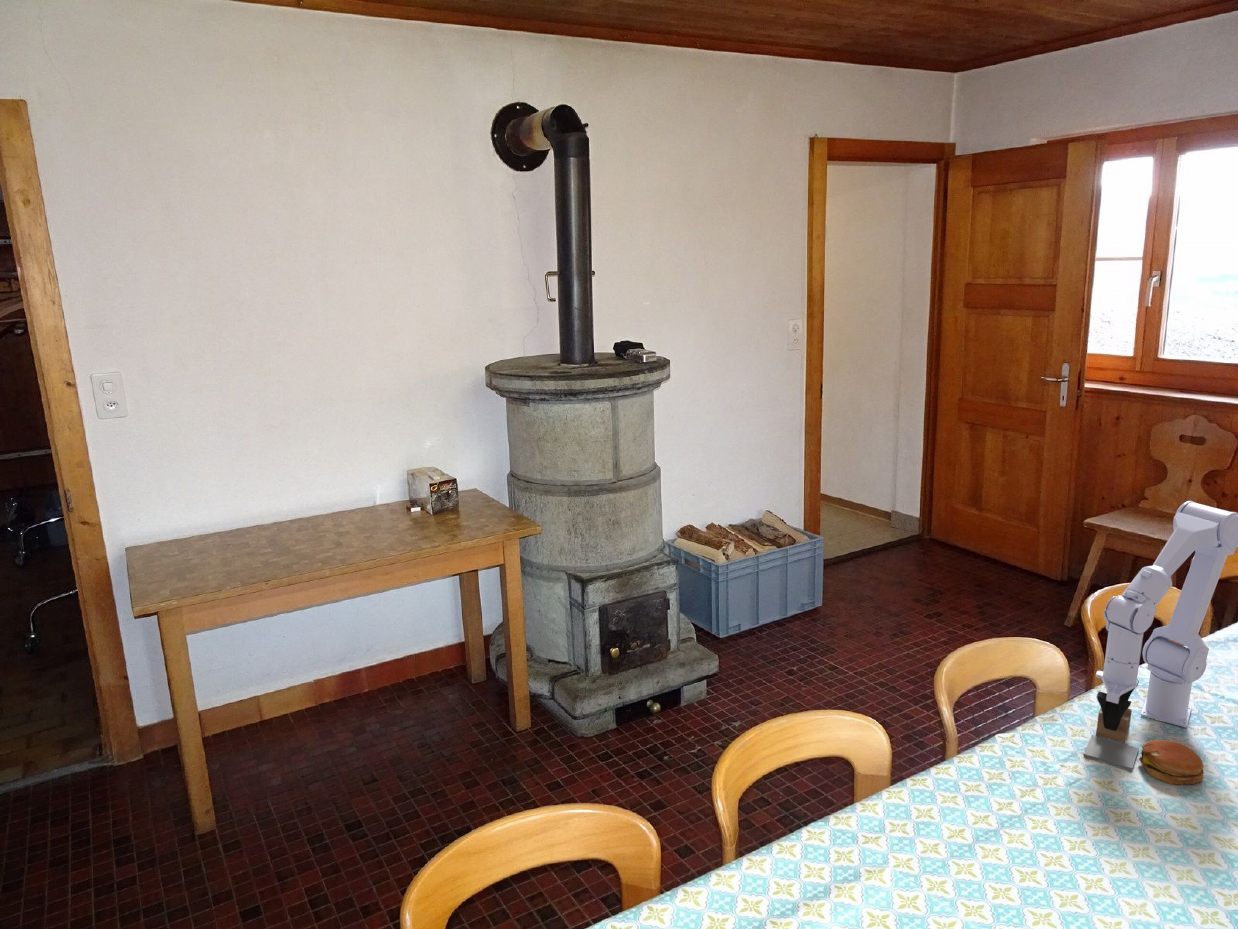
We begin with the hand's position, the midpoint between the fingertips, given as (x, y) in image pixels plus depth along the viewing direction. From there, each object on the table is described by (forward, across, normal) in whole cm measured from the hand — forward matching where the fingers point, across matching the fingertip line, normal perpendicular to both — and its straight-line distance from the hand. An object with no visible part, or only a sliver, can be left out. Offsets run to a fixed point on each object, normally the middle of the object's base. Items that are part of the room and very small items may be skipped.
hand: (1113, 720), depth 171 cm
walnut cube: (+3, 0, 0) cm, 3 cm away
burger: (+3, +8, +11) cm, 14 cm away
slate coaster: (+3, +8, +1) cm, 8 cm away
